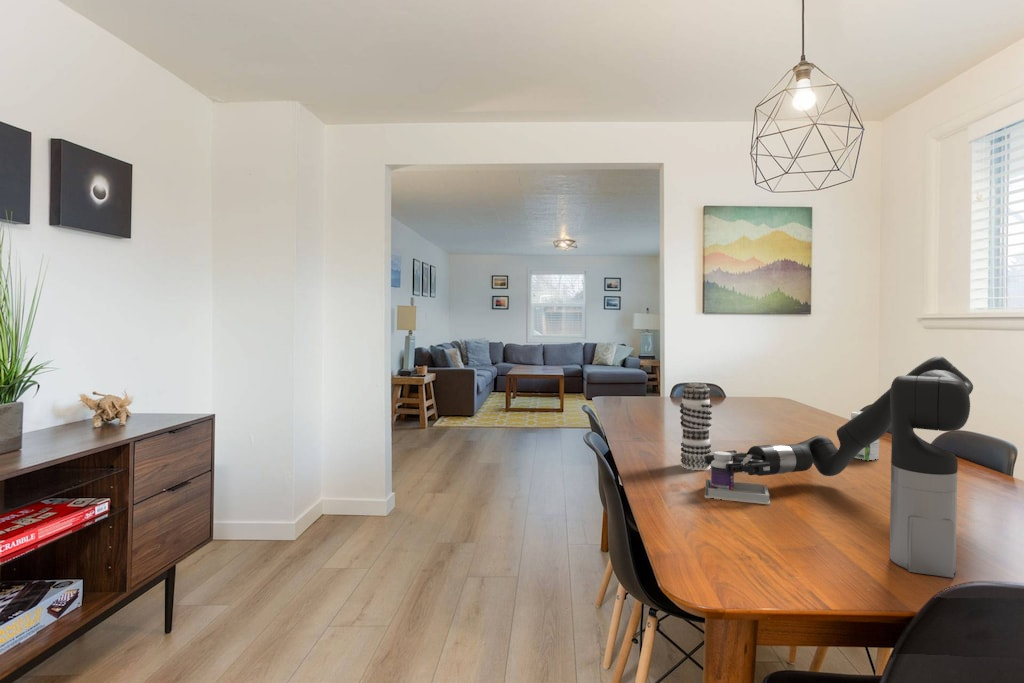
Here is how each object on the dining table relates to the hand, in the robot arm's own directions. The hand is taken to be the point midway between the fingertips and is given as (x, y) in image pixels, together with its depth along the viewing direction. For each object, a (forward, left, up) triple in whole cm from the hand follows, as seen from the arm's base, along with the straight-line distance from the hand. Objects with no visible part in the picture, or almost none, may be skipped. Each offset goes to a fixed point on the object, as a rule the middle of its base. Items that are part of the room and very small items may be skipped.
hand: (715, 464), depth 133 cm
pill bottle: (+1, -1, -7) cm, 7 cm away
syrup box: (+53, -43, -8) cm, 69 cm away
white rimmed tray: (+1, -4, -8) cm, 9 cm away
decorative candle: (+25, +6, -8) cm, 27 cm away
